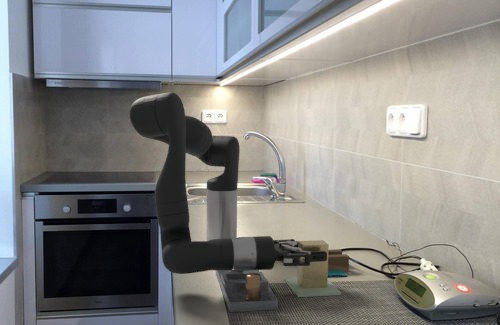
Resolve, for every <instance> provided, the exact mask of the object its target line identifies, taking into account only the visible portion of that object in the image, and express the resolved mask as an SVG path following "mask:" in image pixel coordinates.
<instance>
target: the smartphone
mask: <svg viewBox="0 0 500 325" xmlns="http://www.w3.org/2000/svg"><path fill="white" fill-rule="evenodd" d="M347 277H348V274H347V273H346V272H344V271H328V278H347Z"/></svg>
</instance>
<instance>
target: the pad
mask: <svg viewBox="0 0 500 325" xmlns="http://www.w3.org/2000/svg"><path fill="white" fill-rule="evenodd" d="M297 278H298V276H297V277H284V281H285V283H287V285H288V287H289V288H290V289H291V290H292V292H293V293H294V294H295V296H296V297H297V298H307V297H312V298H313V297H328V296H330V297H332V296H342V292H341V291H340V290H339V289H338V288H337V287H336V286H335V285H334V284H333V283H332V282H331V281H330V280H329V279H328V281H327V287H322V288H301V287H300V285H299V284H298V283H297Z"/></svg>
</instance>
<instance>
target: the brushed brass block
mask: <svg viewBox="0 0 500 325" xmlns="http://www.w3.org/2000/svg"><path fill="white" fill-rule="evenodd" d="M297 241H298V248H301V249H302V250H303V251H326V252H327V260H326V261H321V262H311V263H310V266H297V277H298V278H297V277H296V278H297V283H298V284H299V285H300V287H301V288H322V287H327V281H328V280H329V279H328V250H329V243H328V242H326V241H324V240H321V239H319V240H297ZM301 258H302V259H305V257H301Z"/></svg>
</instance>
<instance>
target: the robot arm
mask: <svg viewBox="0 0 500 325" xmlns="http://www.w3.org/2000/svg"><path fill="white" fill-rule="evenodd" d="M129 120H130V123H131V125H132V127H133V129H134V131H135V132H137V133H138V135H140V136H141V137H143V138H145V139H150V140H153V141H154V140H155V141H159V142H161V143H164V144H167V145H168V147H167V148H168V149H167V154H166V158H165V161H164V164H163V165H162V169H161V172H160V174H159V176H158V179H157V181H156V183H155V184H156V185H155V189H154V201H155V210H156V215H157V216H156V217H157V222H158V223H157V224H158V226H159V230H160V231H159V232H160V233H159V234H160V245H161V247H160V248H161V256H162V257H161V258H162V259H161V260H162V263H163V266H164V267H165V269H167V271H169V272H171V273H172V274H175V275H176V274H177V275H186V274H187V275H188V274H197V273H202V272H208V271H216V270H240V271H248V270H259V271H269V270H273V269H274V267H275V264H276V262H281V264H282V266H283V267H298V266H310V263H311V262H321V261H326V260H327V252H326V251H303V250H302V249H301V248H298V241H299V240H295V239H293V238H291V239H290V238H289V239H273V237H272V236H270V235H267V236H265V235H264V236H263V235H262V236H261V235H260V236H259V235H258V236H240V237H239V236H237V235H238V231H237V230H238V184H239V183H238V181H239V163H240V151H241V150H240V142H239V139H238V138H237V137H235V136H232V135H213V132H212V131H211V129H210V127H209V126H208V125H207V124H206V123H204V122H203V121H202V120H200V119H198V118H197V117H195V116H190V115H187V114H186V112H185V107H184V102H183V100H182V99H181V97H180V96H179V95H178V94H177V93H176V92H173V91H172V92H171V91H169V92H163V93H158V94H157V93H156V94H151V95H146V96H143V97H140V98H137V99H136V100H134V102H132V104H131V106H130V108H129ZM187 154H188V155H190V156H193V157H196V158H197V159H199V161H201V162H202V163H203V164H205V165H207V166H209V167H216V168H217V167H220V168H223V167H224V170H223V172H222V173H221V174H219V175H217V176H214V177H211V178H208V179H207V181H206V229H205V230H206V232H205V234H206V235H205V236H206V239H205V240H200V241H198V240H197V241H195V240H193V241H192V239H191V238H192V237H191V232H190V230H191V229H190V210H189V203H188V202H189V201H188V194H187V183H186V155H187ZM301 257H305V259H302V258H301Z"/></svg>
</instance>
